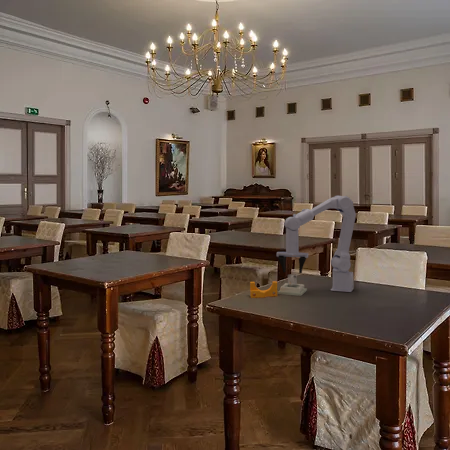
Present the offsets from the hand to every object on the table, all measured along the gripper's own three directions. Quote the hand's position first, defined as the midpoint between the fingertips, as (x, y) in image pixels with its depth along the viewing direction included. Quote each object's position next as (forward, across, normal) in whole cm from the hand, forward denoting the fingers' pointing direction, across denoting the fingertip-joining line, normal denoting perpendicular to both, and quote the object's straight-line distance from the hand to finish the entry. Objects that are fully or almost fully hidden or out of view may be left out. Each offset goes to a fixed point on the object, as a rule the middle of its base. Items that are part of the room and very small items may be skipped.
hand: (292, 272), depth 227 cm
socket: (+9, 0, 0) cm, 9 cm away
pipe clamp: (+10, -10, -12) cm, 18 cm away
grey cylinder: (+8, 0, 0) cm, 8 cm away
